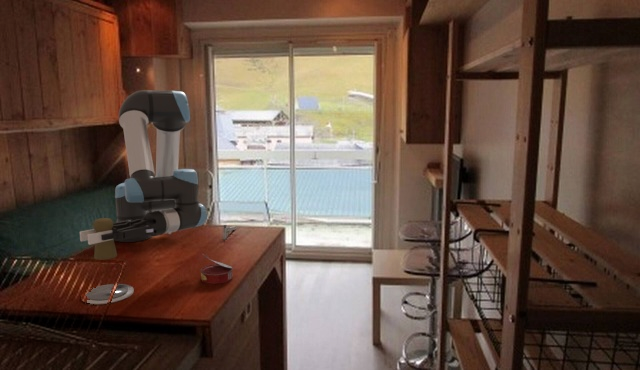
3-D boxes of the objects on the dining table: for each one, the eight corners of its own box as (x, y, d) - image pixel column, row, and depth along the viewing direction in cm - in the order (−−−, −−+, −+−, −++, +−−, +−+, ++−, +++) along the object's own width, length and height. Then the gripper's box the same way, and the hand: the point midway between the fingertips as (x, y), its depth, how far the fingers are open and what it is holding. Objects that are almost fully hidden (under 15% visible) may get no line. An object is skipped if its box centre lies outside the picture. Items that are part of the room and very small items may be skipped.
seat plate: (71, 295, 133) (71, 292, 133) (118, 282, 144) (118, 278, 144) (94, 309, 125) (94, 305, 124) (143, 293, 135) (142, 290, 135)
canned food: (206, 288, 152) (206, 258, 155) (236, 285, 151) (235, 255, 154) (194, 284, 141) (194, 251, 144) (227, 281, 141) (227, 248, 144)
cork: (121, 254, 134) (119, 217, 133) (106, 260, 129) (103, 221, 127) (105, 252, 136) (102, 215, 135) (88, 258, 131) (85, 220, 129)
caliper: (225, 240, 190) (225, 226, 189) (223, 240, 190) (222, 225, 189) (237, 228, 210) (237, 214, 209) (235, 228, 211) (234, 214, 209)
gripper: (177, 239, 140) (100, 257, 123) (146, 229, 151) (71, 245, 133) (176, 214, 139) (98, 230, 121) (145, 206, 150) (69, 219, 132)
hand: (84, 238), depth 127 cm, fingers closed on cork, 4 cm apart
